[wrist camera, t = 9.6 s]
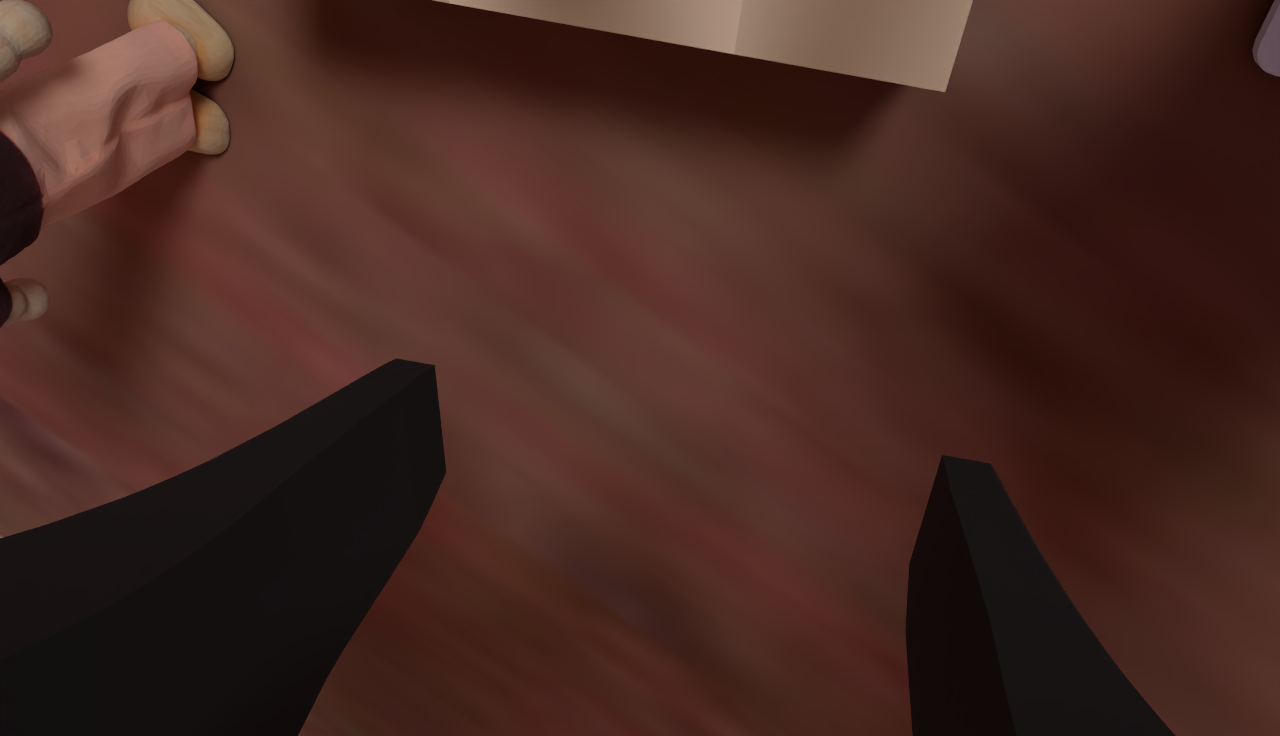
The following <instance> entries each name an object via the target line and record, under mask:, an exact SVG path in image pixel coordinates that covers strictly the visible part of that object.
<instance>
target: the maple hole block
mask: <svg viewBox="0 0 1280 736" xmlns="http://www.w3.org/2000/svg"><path fill="white" fill-rule="evenodd" d="M434 1H439V2H445V3H450V4H456V5H462V6H467V7H473V8H478V9H484V10H489V11H495V12H501V13H506V14H512V15H517V16H523V17H529V18H534V19H540V20H545V21H551V22H557V23H562V24H568V25H573V26H579V27H584V28H590V29H596V30H601V31H607V32H612V33H618V34H624V35H629V36H635V37H640V38H646V39H651V40H657V41H663V42H668V43H674V44H679V45H685V46H691V47H696V48H702V49H707V50H713V51H718V52H724V53H730V54H735V55H741V56H746V57H752V58H758V59H763V60H769V61H774V62H780V63H785V64H791V65H797V66H802V67H808V68H813V69H819V70H825V71H830V72H836V73H841V74H847V75H852V76H858V77H864V78H869V79H875V80H880V81H886V82H892V83H897V84H903V85H908V86H914V87H919V88H925V89H931V90H936V91H942V92H945V91H946V88H947V84H948V81H949V78H950V74H951V71H952V68H953V64H954V61H955V58H956V55H957V51H958V48H959V45H960V41H961V38H962V35H963V31H964V28H965V25H966V22H967V18H968V15H969V12H970V8H971V5H972V2H973V0H434Z"/></svg>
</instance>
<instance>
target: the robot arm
mask: <svg viewBox="0 0 1280 736" xmlns="http://www.w3.org/2000/svg"><path fill="white" fill-rule="evenodd" d="M1252 52H1253V57H1254V60H1255V62H1256V63H1257V64H1258V65H1259V66H1260V67H1261V68H1262V69H1263V70H1264V71H1265V72H1267V73H1269V74H1272V75H1275V76H1280V0H1274V2H1273V4H1272V7H1271V9H1270V11H1269V13H1268V15H1267V17H1266V19H1265V21H1264V23H1263V25H1262V27H1261V29H1260V31H1259V33H1258V35H1257V37H1256V39H1255V42H1254V46H1253V49H1252ZM445 474H446V465H445V456H444V447H443V438H442V428H441V419H440V410H439V401H438V392H437V382H436V373H435V365H430V364H424V363H419V362H413V361H407V360H402V359H394V360H392V361H390V362H388V363H386V364H384V365H383V366H381V367H379V368H377V369H375V370H373V371H372V372H370V373H368V374H366V375H365V376H363V377H361V378H359V379H358V380H356V381H354V382H352V383H351V384H349V385H347V386H346V387H344V388H342V389H340V390H339V391H337V392H335V393H333V394H332V395H330V396H328V397H327V398H325V399H323V400H321V401H320V402H318V403H316V404H314V405H313V406H311V407H309V408H307V409H306V410H304V411H302V412H300V413H299V414H297V415H295V416H293V417H291V418H290V419H288V420H286V421H284V422H283V423H281V424H279V425H277V426H275V427H274V428H272V429H270V430H268V431H266V432H264V433H262V434H260V435H258V436H256V437H254V438H252V439H250V440H248V441H247V442H245V443H243V444H241V445H239V446H237V447H235V448H233V449H231V450H229V451H227V452H225V453H223V454H221V455H219V456H217V457H216V458H214V459H212V460H210V461H207V462H205V463H203V464H201V465H199V466H197V467H195V468H192V469H190V470H188V471H186V472H184V473H181V474H179V475H177V476H175V477H172V478H170V479H168V480H165V481H163V482H160V483H158V484H156V485H153V486H151V487H149V488H146V489H144V490H141V491H139V492H136V493H134V494H131V495H129V496H126V497H124V498H121V499H118V500H115V501H113V502H110V503H107V504H104V505H101V506H98V507H96V508H93V509H90V510H87V511H84V512H81V513H78V514H76V515H73V516H70V517H67V518H64V519H61V520H59V521H56V522H53V523H50V524H47V525H44V526H41V527H37V528H34V529H31V530H27V531H24V532H21V533H17V534H14V535H11V536H7V537H4V538H0V736H298V734H299V732H300V730H301V728H302V726H303V724H304V722H305V720H306V718H307V716H308V714H309V712H310V710H311V708H312V706H313V704H314V702H315V700H316V698H317V696H318V695H319V693H320V691H321V689H322V687H323V685H324V683H325V681H326V679H327V677H328V675H329V673H330V672H331V670H332V668H333V667H334V665H335V663H336V661H337V660H338V658H339V656H340V655H341V653H342V651H343V649H344V648H345V646H346V645H347V643H348V642H349V640H350V639H351V637H352V636H353V634H354V632H355V631H356V629H357V628H358V626H359V625H360V623H361V622H362V620H363V618H364V617H365V615H366V614H367V612H368V611H369V609H370V608H371V606H372V604H373V603H374V601H375V600H376V598H377V597H378V595H379V594H380V592H381V590H382V589H383V587H384V586H385V584H386V583H387V581H388V580H389V578H390V576H391V575H392V573H393V572H394V570H395V569H396V567H397V565H398V564H399V562H400V561H401V559H402V558H403V556H404V554H405V553H406V551H407V550H408V548H409V546H410V545H411V543H412V542H413V540H414V538H415V537H416V535H417V533H418V532H419V530H420V528H421V526H422V524H423V522H424V520H425V518H426V516H427V514H428V512H429V509H430V507H431V505H432V503H433V501H434V499H435V496H436V494H437V492H438V490H439V487H440V485H441V483H442V480H443V478H444V476H445ZM906 645H907V661H908V676H909V690H910V704H911V718H912V732H913V736H1175V735H1174V734H1173V732H1172V731H1171V730H1170V729H1169V728H1168V727H1167V726H1166V725H1165V723H1164V722H1163V721H1162V720H1161V719H1160V718H1159V717H1158V715H1157V714H1156V713H1155V712H1154V711H1153V709H1152V708H1151V707H1150V706H1149V705H1148V703H1147V702H1146V701H1145V700H1144V699H1143V697H1142V696H1141V695H1140V694H1139V693H1138V691H1137V690H1136V689H1135V688H1134V687H1133V685H1132V684H1131V683H1130V682H1129V680H1128V679H1127V678H1126V677H1125V675H1124V674H1123V673H1122V672H1121V670H1120V669H1119V668H1118V666H1117V665H1116V664H1115V662H1114V661H1113V660H1112V658H1111V657H1110V656H1109V654H1108V653H1107V652H1106V650H1105V649H1104V647H1103V646H1102V645H1101V643H1100V642H1099V640H1098V639H1097V638H1096V636H1095V635H1094V633H1093V632H1092V631H1091V629H1090V628H1089V626H1088V625H1087V624H1086V622H1085V621H1084V619H1083V618H1082V616H1081V615H1080V613H1079V612H1078V610H1077V609H1076V607H1075V606H1074V604H1073V603H1072V601H1071V600H1070V598H1069V597H1068V595H1067V594H1066V592H1065V591H1064V589H1063V587H1062V586H1061V584H1060V583H1059V581H1058V580H1057V578H1056V576H1055V575H1054V573H1053V572H1052V570H1051V568H1050V567H1049V565H1048V564H1047V562H1046V560H1045V559H1044V557H1043V556H1042V554H1041V552H1040V551H1039V549H1038V547H1037V545H1036V544H1035V542H1034V540H1033V539H1032V537H1031V535H1030V533H1029V532H1028V530H1027V528H1026V526H1025V525H1024V523H1023V521H1022V519H1021V518H1020V516H1019V514H1018V512H1017V510H1016V508H1015V507H1014V505H1013V503H1012V501H1011V499H1010V497H1009V495H1008V494H1007V492H1006V490H1005V488H1004V486H1003V484H1002V482H1001V480H1000V478H999V476H998V475H997V473H996V471H995V470H994V468H993V467H992V466H991V464H989V463H983V462H978V461H972V460H966V459H961V458H955V457H949V456H944V455H942V458H941V461H940V464H939V468H938V471H937V474H936V478H935V481H934V484H933V487H932V491H931V494H930V497H929V501H928V504H927V507H926V511H925V514H924V517H923V521H922V524H921V527H920V531H919V534H918V537H917V540H916V544H915V547H914V550H913V554H912V557H911V560H910V564H909V580H908V596H907V615H906Z"/></svg>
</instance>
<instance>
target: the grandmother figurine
mask: <svg viewBox="0 0 1280 736" xmlns="http://www.w3.org/2000/svg"><path fill="white" fill-rule="evenodd" d="M128 21H129V24H130V28H131V32H129V33H127V34H125V35H123V36H121V37H119V38H117V39H115V40H113V41H111V42H108V43H106V44H104V45H102V46H100V47H98V48H96V49H94V50H92V51H90V52H88V53H85V54H83V55H81V56H78V57H76V58H74V59H72V60H69V61H67V62H64V63H61V64H59V65H56V66H54V67H51V68H48V69H46V70H43V71H40V72H38V73H36V74H33V75H31V76H28V77H25V78H22V79H20V80H18V81H16V82H14V83H11V84H9V85H8V86H6V87H5V88H3V89H2V90H0V265H2V264H3V263H5V262H6V261H7V260H9V259H10V258H12V257H14V256H15V255H17V254H18V253H19V252H21V251H22V250H23V249H24V248H26V247H27V246H29V245H31V244H32V243H33V242H34V241H35V240H36V239H37V237H38V235H39V233H40V231H41V230H42V229H43V227H45V226H47V225H50V224H52V223H54V222H57V221H59V220H62V219H64V218H67V217H69V216H72V215H75V214H77V213H79V212H82V211H83V210H85V209H87V208H89V207H91V206H93V205H94V204H96V203H99V202H101V201H103V200H106V199H108V198H110V197H112V196H114V195H116V194H117V193H119V192H121V191H123V190H124V189H126V188H127V187H129V186H131V185H132V184H134V183H135V182H137V181H139V180H140V179H141V178H143V177H144V176H146V175H148V174H149V173H151V172H153V171H154V170H156V169H158V168H160V167H161V166H163V165H165V164H167V163H168V162H170V161H172V160H174V159H176V158H177V157H179V156H180V155H182V154H183V153H184V152H185V151H187V150H189V151H194V152H198V153H203V154H213V155H215V154H220V153H222V152H223V151H225V150H226V149H227V147H228V145H229V142H230V140H229V139H230V128H229V122H228V120H227V117H226V115H225V114H224V112H223V111H222V110H221V108H220V107H219V106H218V105H217V104H216V103H215V102H213V101H212V100H210V99H208V98H207V97H205V96H203V95H201V94H200V93H198V92H196V91H194V90H193V89H191V88H192V87H193V85H194V84H195V83H196V80H197V77H198V78H201V79H203V80H207V81H218V80H221V79H223V78H225V77H226V76H227V75H228V74H229V72H230V70H231V67H232V64H233V60H234V48H233V45H232V42H231V40H230V38H229V36H228V35H227V33H226V32H225V31H224V30H223V29H222V27H221V26H220V25H219V24H218V23H217V22H216V21H215V20H214V19H213V18H212V17H211V16H210V15H208V14H207V13H206V12H205V11H204V10H203V9H202V8H201V7H200V6H199V5H198V4H197V3H196V2H195V1H194V0H130V3H129V6H128ZM52 36H53V34H52V28H51V25H50V22H49V20H48V18H47V17H46V16H45V15H44V14H43V12H42V11H41V10H40V9H38V8H37V7H36V6H34V5H33V4H31V3H29V2H26V1H23V0H4V1H1V2H0V83H1V82H3V81H4V80H5V79H6V78H8V77H9V76H10V75H12V74H13V73H14V72H16V70H17V68H18V67H19V64H20V62H21V61H22V60H23V59H25V58H29V57H33V56H35V55H38V54H40V53H42V52H43V51H44V50H45V49H46V48H47V47H48V46H49V44H50V43H51V40H52ZM49 302H50V297H49V293H48V291H47V289H46V287H45V286H44V285H43V284H41V283H40V282H38V281H37V280H34V279H31V278H18V279H13V280H10V281H7V282H3V281H2V279H1V278H0V327H2V326H7V325H11V324H13V323H15V322H17V321H18V320H23V321H26V320H33V319H36V318H39V317H40V316H41V315H43V314H44V313H45V312H46V310H47V309H48V307H49Z"/></svg>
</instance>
